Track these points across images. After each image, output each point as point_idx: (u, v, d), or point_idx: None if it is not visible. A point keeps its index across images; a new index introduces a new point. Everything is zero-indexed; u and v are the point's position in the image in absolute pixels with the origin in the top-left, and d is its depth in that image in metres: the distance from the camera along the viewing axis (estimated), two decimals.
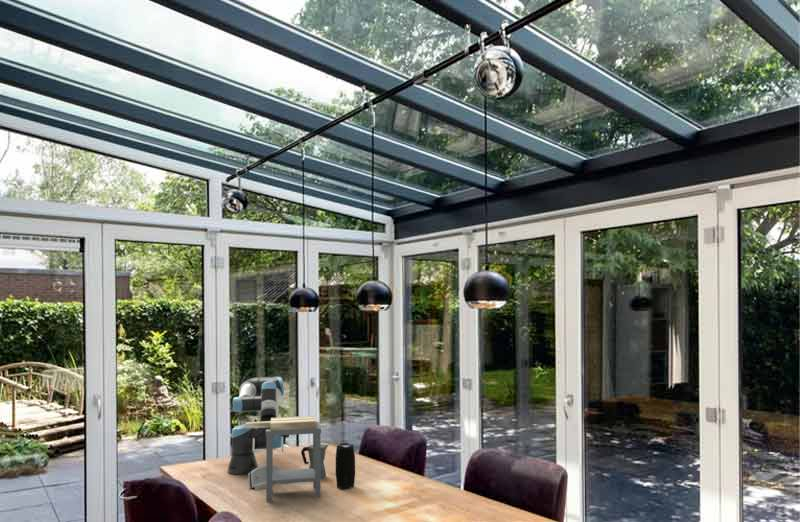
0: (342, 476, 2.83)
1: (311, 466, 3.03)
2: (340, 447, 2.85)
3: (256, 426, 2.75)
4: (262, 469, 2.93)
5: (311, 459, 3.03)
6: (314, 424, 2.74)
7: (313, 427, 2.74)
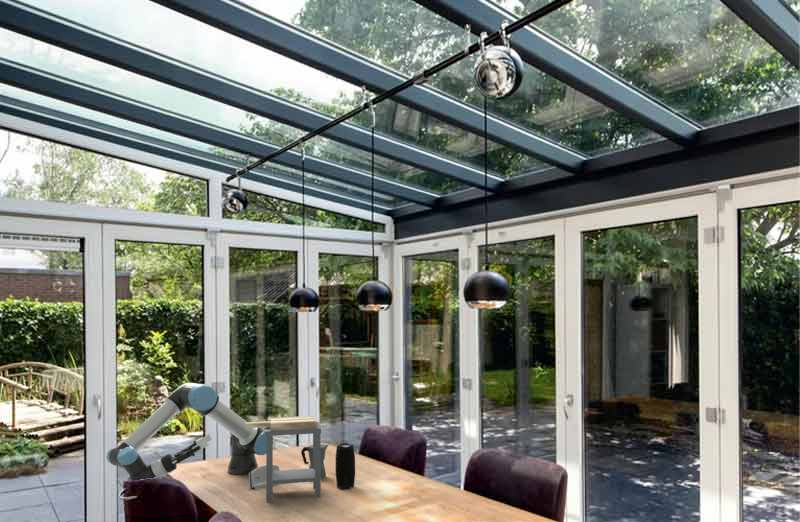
0: (342, 476, 2.83)
1: (311, 466, 3.03)
2: (340, 447, 2.85)
3: (256, 426, 2.75)
4: (262, 469, 2.93)
5: (311, 459, 3.03)
6: (314, 424, 2.74)
7: (313, 427, 2.74)
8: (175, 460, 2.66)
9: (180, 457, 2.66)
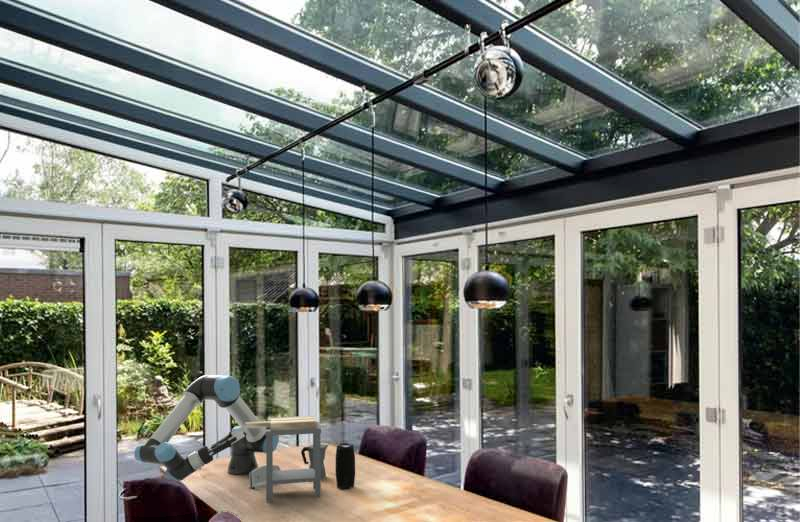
0: (342, 476, 2.83)
1: (311, 466, 3.03)
2: (340, 447, 2.85)
3: (256, 426, 2.75)
4: (263, 468, 2.93)
5: (311, 459, 3.03)
6: (314, 424, 2.74)
7: (313, 427, 2.74)
8: (212, 452, 2.65)
9: (217, 448, 2.65)
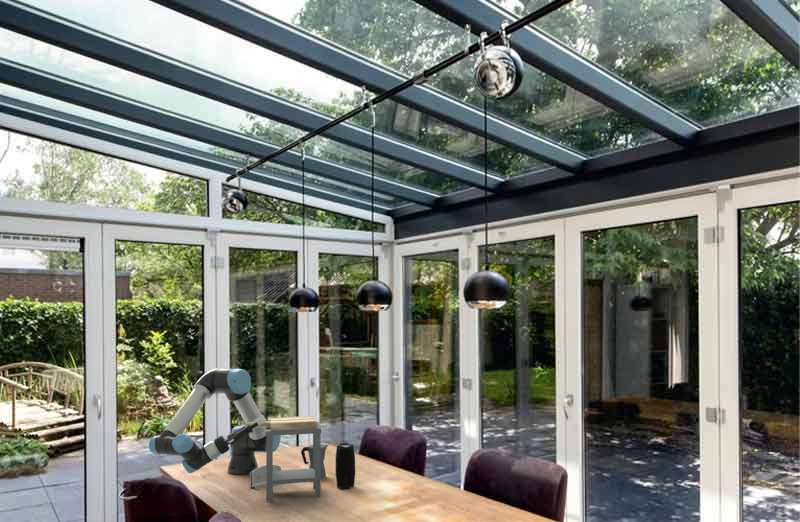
0: (342, 476, 2.83)
1: (311, 466, 3.03)
2: (340, 447, 2.85)
3: None
4: (263, 468, 2.94)
5: (311, 459, 3.03)
6: (314, 424, 2.74)
7: (313, 427, 2.74)
8: (232, 439, 2.69)
9: (238, 435, 2.69)
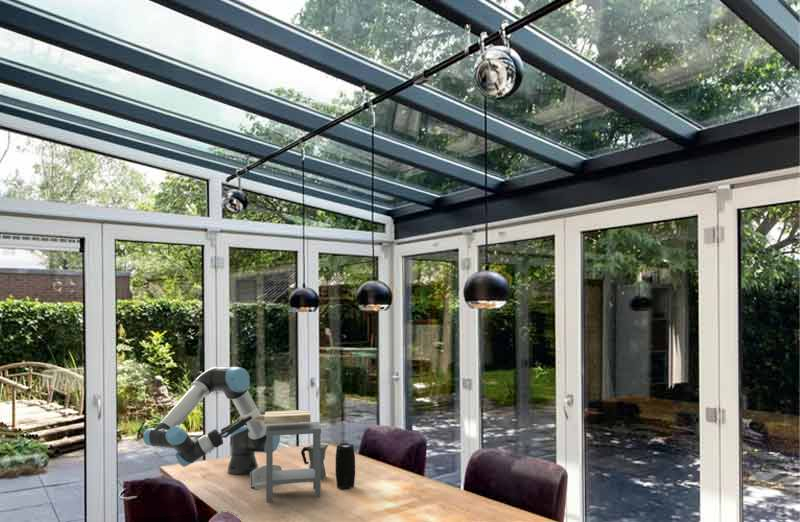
0: (342, 476, 2.83)
1: (311, 466, 3.03)
2: (340, 447, 2.85)
3: None
4: (264, 468, 2.94)
5: (311, 459, 3.03)
6: (308, 417, 2.74)
7: (307, 420, 2.73)
8: (226, 432, 2.68)
9: (232, 428, 2.69)
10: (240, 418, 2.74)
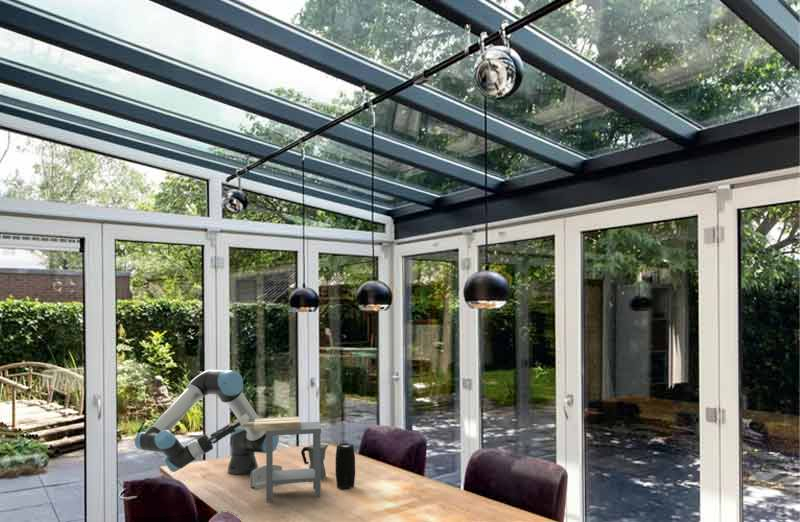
0: (342, 476, 2.83)
1: (311, 466, 3.03)
2: (340, 447, 2.85)
3: (240, 427, 2.74)
4: (264, 468, 2.94)
5: (311, 459, 3.03)
6: (298, 425, 2.72)
7: (297, 428, 2.72)
8: (214, 438, 2.67)
9: (220, 434, 2.67)
10: (230, 425, 2.73)
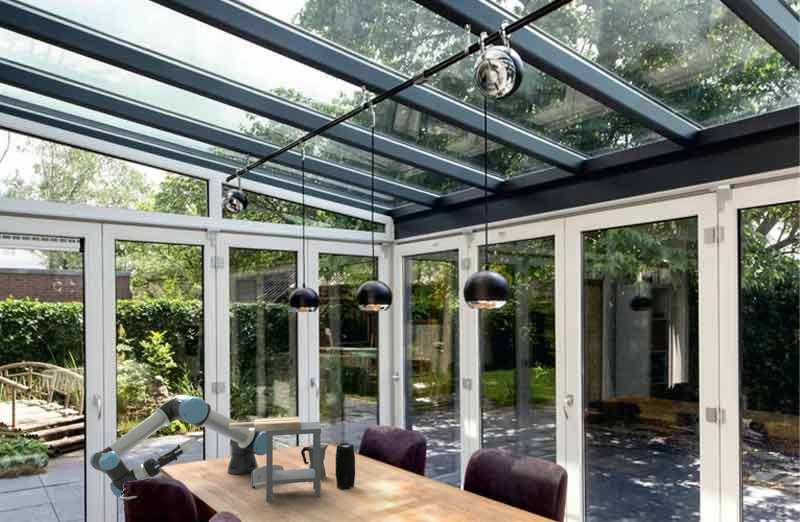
0: (342, 476, 2.83)
1: (311, 466, 3.03)
2: (340, 447, 2.85)
3: (240, 427, 2.74)
4: (265, 468, 2.94)
5: (311, 459, 3.03)
6: (298, 425, 2.72)
7: (297, 428, 2.72)
8: (158, 464, 2.62)
9: (162, 461, 2.62)
10: (230, 425, 2.73)
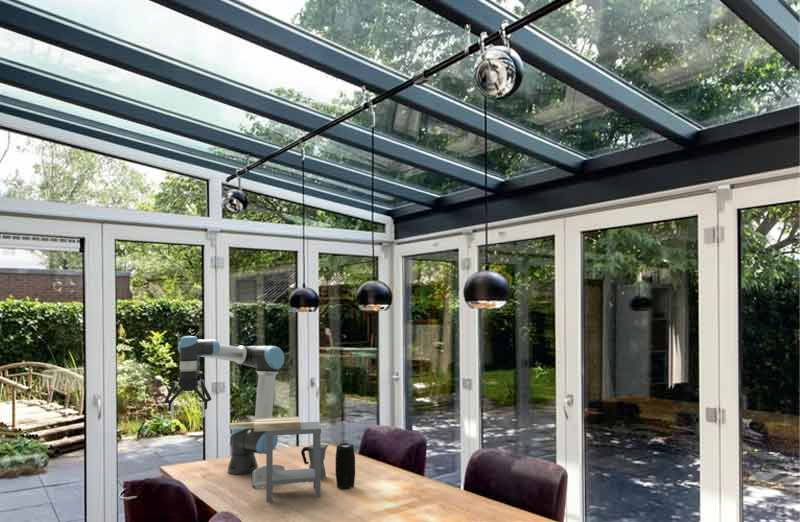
0: (342, 476, 2.83)
1: (311, 466, 3.03)
2: (340, 447, 2.85)
3: (240, 427, 2.74)
4: None
5: (311, 459, 3.03)
6: (298, 425, 2.72)
7: (297, 428, 2.72)
8: (204, 384, 2.83)
9: (206, 389, 2.83)
10: (230, 425, 2.73)
